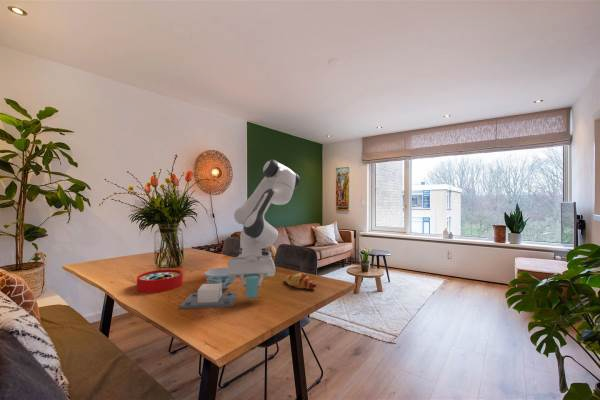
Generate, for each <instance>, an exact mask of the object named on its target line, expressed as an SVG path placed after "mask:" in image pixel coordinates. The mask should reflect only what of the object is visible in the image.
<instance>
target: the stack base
mask: <svg viewBox="0 0 600 400" xmlns="http://www.w3.org/2000/svg"><path fill="white" fill-rule="evenodd" d="M222 291H223V289H222V284H209V283H202V285H200V287H199V288H198V289H197V292H193V293H189V295H188V296H187V297H186V298H185V299H184V300H183V302H182V303H181V304H180V305H179V309H180V310H183V309H206V308H208V309H209V308H232V307H233V306H234V304H235V301H236V298H237V295H238V294H237V292H233V291H228V292H222Z"/></svg>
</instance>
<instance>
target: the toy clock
mask: <svg viewBox="0 0 600 400" xmlns="http://www.w3.org/2000/svg"><path fill="white" fill-rule="evenodd" d="M182 285H183V270H180V269H170V268H169V269H167V268H166V269H157V270H151V271H147V272H143V273H140V274H139V275H137V276H136V291H137V292H139V293H145V294H154V292H157V293H163V291H164V292H167V291H168V290H169V291H172V289H173V290H175V288H176V289H178V288H180V287H181V286H182Z"/></svg>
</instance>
